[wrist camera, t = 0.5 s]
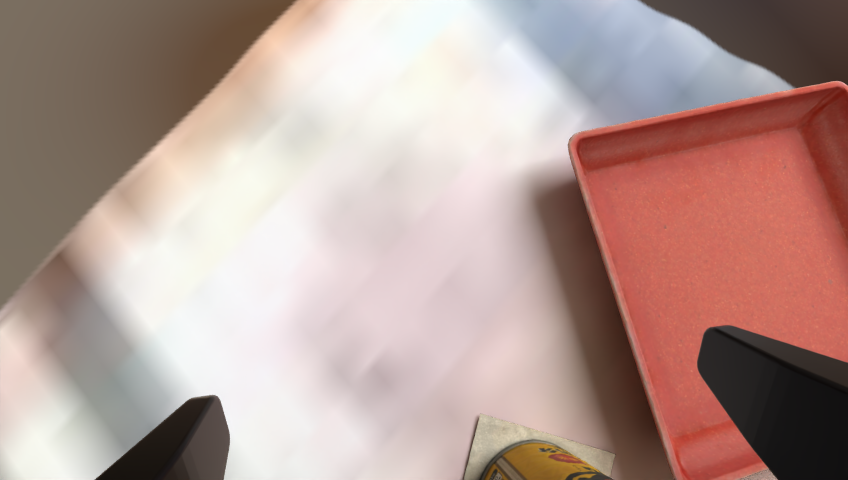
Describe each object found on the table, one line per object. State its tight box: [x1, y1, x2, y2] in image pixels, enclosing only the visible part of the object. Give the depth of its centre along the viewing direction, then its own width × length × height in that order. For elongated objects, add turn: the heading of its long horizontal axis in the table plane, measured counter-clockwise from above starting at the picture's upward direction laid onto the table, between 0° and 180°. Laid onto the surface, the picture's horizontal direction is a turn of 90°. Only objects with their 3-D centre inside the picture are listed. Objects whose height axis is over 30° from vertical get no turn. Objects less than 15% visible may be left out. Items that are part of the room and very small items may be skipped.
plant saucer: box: [568, 81, 848, 480], centre depth 24 cm, size 18×18×3 cm
